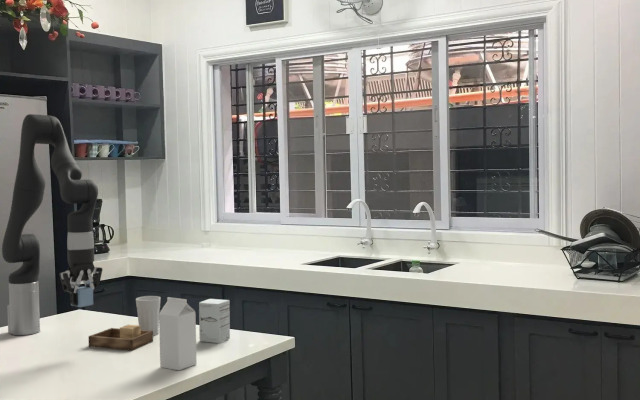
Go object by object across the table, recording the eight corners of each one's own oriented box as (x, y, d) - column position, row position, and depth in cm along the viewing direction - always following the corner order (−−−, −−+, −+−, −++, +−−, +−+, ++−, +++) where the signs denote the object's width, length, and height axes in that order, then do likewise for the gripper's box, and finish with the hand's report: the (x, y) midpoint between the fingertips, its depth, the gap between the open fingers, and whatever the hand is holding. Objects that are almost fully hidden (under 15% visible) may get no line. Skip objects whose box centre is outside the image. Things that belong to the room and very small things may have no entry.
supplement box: (198, 342, 224) (197, 302, 223) (210, 336, 231) (210, 298, 230) (219, 343, 221) (218, 303, 221) (230, 338, 228) (230, 299, 228)
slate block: (71, 305, 211) (70, 288, 211) (83, 302, 215) (83, 286, 214) (80, 307, 208) (80, 290, 208) (93, 304, 212) (92, 288, 212)
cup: (164, 331, 239) (163, 296, 238) (156, 337, 231) (155, 300, 230) (141, 331, 240) (140, 295, 239) (133, 336, 232) (132, 300, 231)
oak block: (128, 340, 224) (128, 324, 224) (140, 341, 223) (140, 325, 222) (120, 343, 220) (119, 327, 220) (132, 344, 218) (132, 328, 218)
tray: (88, 346, 220) (88, 336, 220) (111, 338, 231) (111, 327, 230) (131, 350, 214) (131, 339, 214) (153, 341, 225) (152, 331, 225)
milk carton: (179, 371, 193) (177, 301, 192) (160, 367, 196) (158, 299, 195) (196, 364, 199) (195, 297, 198) (178, 361, 202) (176, 295, 201)
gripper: (92, 243, 219) (94, 298, 220) (51, 248, 207) (53, 306, 208) (108, 245, 214) (109, 301, 215) (67, 250, 203) (69, 309, 204)
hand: (82, 303), depth 212 cm, fingers closed on slate block, 4 cm apart
